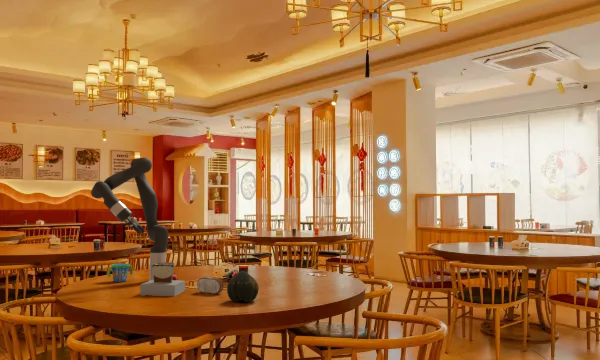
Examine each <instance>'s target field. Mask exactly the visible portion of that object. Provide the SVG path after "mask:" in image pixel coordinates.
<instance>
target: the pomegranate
mask: <svg viewBox="0 0 600 360" xmlns="http://www.w3.org/2000/svg"><path fill="white" fill-rule="evenodd" d="M172 280H179V278H178V276H177V273H176V272H174V271H173V279H172Z"/></svg>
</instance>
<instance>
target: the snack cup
mask: <svg viewBox="0 0 600 360" xmlns="http://www.w3.org/2000/svg"><path fill="white" fill-rule="evenodd" d="M111 271H112V273H111ZM133 272H134V270H133V266H132V265H131V264H130V263H112V264H110V266H109V267H108V269H107V277H108V278H110V277H111V274H112V280H113V282H114V283H122V282H127V280H128V276H129V275H130V276H131V275H133Z"/></svg>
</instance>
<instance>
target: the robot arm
mask: <svg viewBox="0 0 600 360" xmlns="http://www.w3.org/2000/svg"><path fill="white" fill-rule="evenodd" d="M152 168H153V164H152V161H151V159H150V158H147V157H136V158H133V159H132V160H131V162H130V167H128V168H126V169H123V170H120V171H117V172H116V173H114V174H112V175H110V176H109V177H107V178H105V180H104V181H102V180H99V181H96V182H95V183H94V185H93V187H92V188H91V191H90V194H91V197H92V198H95V199H102V198H103V204H104V206H105V207H106V208H107V209H108V210H109V211H110V212H111V213H112V214H113V215H114V216H115V217H116V218H117V219H118V221H120V222H121V223H125V224H126V225H127V226H128V227H129V228H130V229H132V230H133V231H135V232H136V233H137V234H138V235H141V234H145V232H146V230H147V235H148V238H149V239H150V240H151V241H154V243H153V246H151V247H150V248H149V281H151V280H154V279H153V267H151V266H152V263H159V262H167V249H168V243H169V242H168V241H169V230H168V228H167V227H166V226H164V225H159V223H158V219H157V212H158V207H159V203H158V198H157V194H156V192H155V190H154V189H153V187H152V186H151V184H150V183H149V182H148V180H147V176H146V173H149V172H150V171H151V169H152ZM132 179H134V181H135V183H136V188H137V191H138V195H139V200H140V202H141V203H140V204H141V207H142V211H143V215H144V219H145V223H146V224H145V225H146V230H145V228H143V227H142V226H141V225H142V224H141V223H140V222H139V221H137V219H135V217H132V214H133V211H131V210H130V209H129V208H128V207H127V206H126V205H125V204H124V203H123V202H121V200H120V199H119V198H118V197H116V196H115V194H114V192H113V190H114V189H117V188H119V187H120V186H121V185H123V184H125V183H127V182H128V181H130V180H132Z"/></svg>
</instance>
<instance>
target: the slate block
mask: <svg viewBox="0 0 600 360" xmlns="http://www.w3.org/2000/svg"><path fill="white" fill-rule="evenodd" d="M185 287H186V280H180V279H178V280H172V283H154V280H151V281H150V280H148V281H146V282H142V283H140V287H139V290H140V291H139V295H140V296H145V295H150V297H151V295H152V296H155V297H156V296H157V297H176V296H177V295H179V294H182V293H183V292H185V290H186V289H185Z"/></svg>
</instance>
